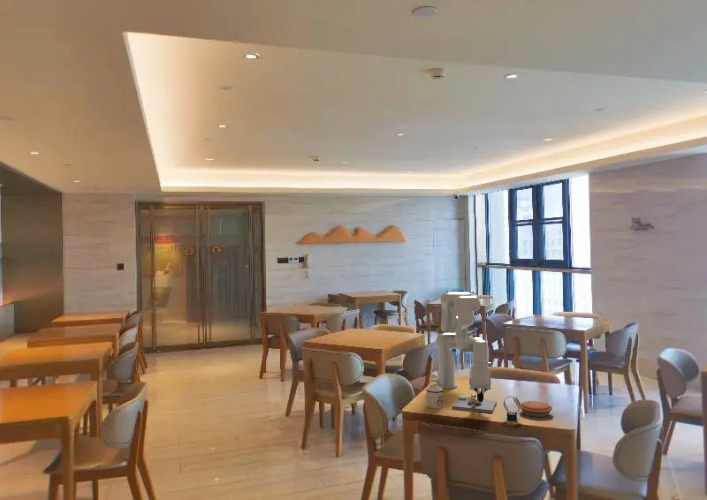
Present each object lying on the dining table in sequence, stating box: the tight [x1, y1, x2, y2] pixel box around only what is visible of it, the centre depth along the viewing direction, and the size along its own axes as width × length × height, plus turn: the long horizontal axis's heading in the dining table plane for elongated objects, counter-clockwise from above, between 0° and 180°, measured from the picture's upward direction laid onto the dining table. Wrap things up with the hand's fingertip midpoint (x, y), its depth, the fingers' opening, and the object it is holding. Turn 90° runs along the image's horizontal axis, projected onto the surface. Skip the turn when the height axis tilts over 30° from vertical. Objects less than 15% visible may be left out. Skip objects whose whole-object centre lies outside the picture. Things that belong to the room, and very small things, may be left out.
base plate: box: [451, 395, 497, 414], centre depth 272 cm, size 20×18×3 cm
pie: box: [520, 400, 553, 418], centre depth 259 cm, size 15×16×5 cm
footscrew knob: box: [467, 393, 482, 407], centre depth 270 cm, size 13×7×6 cm, turn 162°
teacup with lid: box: [425, 382, 444, 409], centre depth 274 cm, size 12×9×12 cm
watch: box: [502, 395, 521, 422], centre depth 251 cm, size 6×8×11 cm
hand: (480, 401), depth 265 cm, fingers closed
